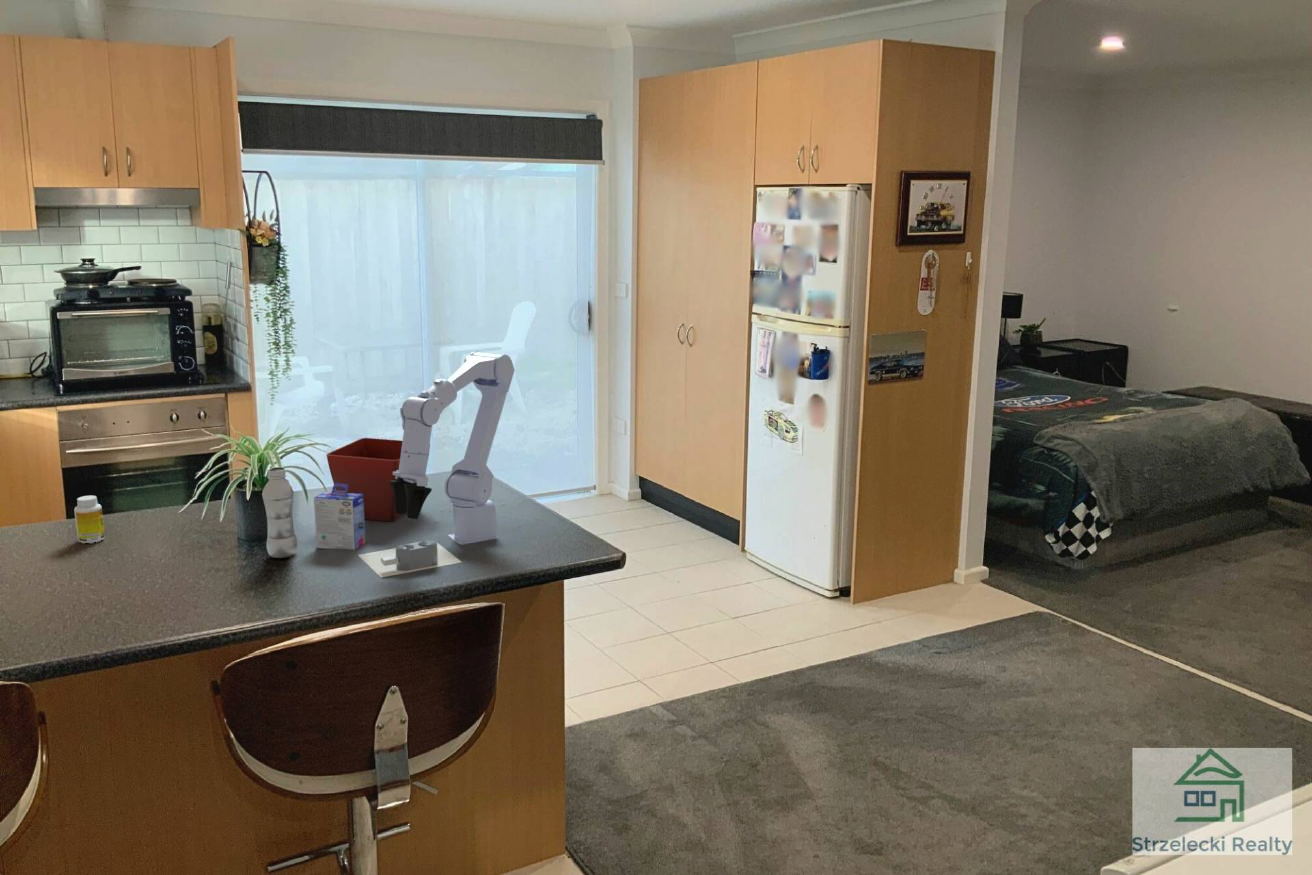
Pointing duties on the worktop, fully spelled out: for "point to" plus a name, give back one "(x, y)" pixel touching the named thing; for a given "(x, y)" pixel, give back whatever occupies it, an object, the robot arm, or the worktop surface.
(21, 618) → the worktop surface
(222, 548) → the worktop surface
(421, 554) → the plug
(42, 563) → the worktop surface
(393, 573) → the mat
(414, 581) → the worktop surface
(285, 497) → the plastic bottle
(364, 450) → the plant pot
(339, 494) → the ink cartridge box
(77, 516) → the supplement bottle
